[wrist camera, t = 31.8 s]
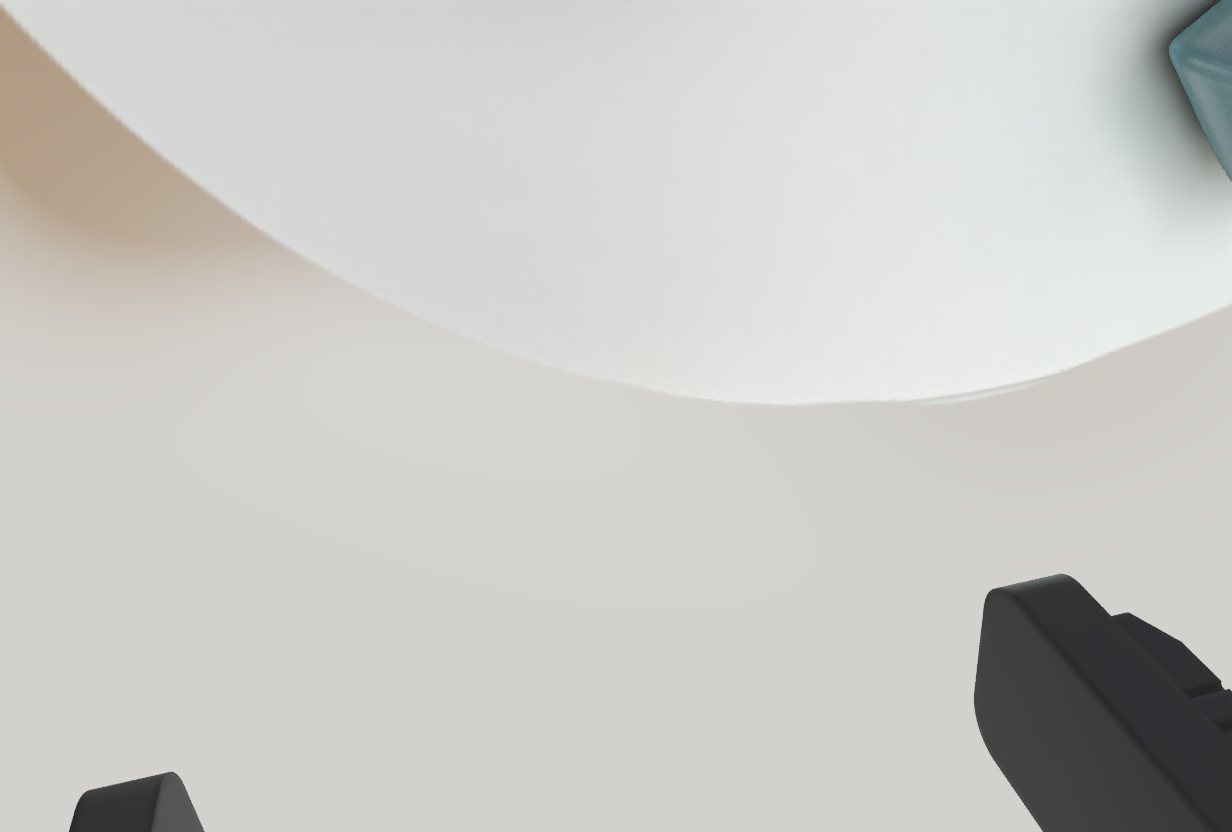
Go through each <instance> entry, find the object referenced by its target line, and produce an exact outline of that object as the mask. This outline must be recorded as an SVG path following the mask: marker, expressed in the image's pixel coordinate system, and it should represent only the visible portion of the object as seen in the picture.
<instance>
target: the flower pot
mask: <svg viewBox="0 0 1232 832" xmlns="http://www.w3.org/2000/svg"><path fill="white" fill-rule="evenodd" d="M1169 56H1170V59H1171V61H1172V63H1173V65H1174V68H1175V70H1176V72H1177V74H1178V76H1179V79H1180V81H1181V83H1182V85H1183V87H1184V89H1185V91H1186V93H1187V96H1188V98H1189V100H1190V102H1191V105H1192V107H1193V109H1194V111H1195V114H1196V116H1197V118H1198V120H1199V123H1200V125H1201V127H1202V129H1203V132H1204V134H1205V136H1206V137H1207V139H1208V141H1209V143H1210V145H1211V148H1212V150H1213V152H1214V154H1215V155H1216V157H1217V159H1218V161H1219V163H1220V165H1221V166H1222V168H1223V169H1224V171H1225V172H1226V174H1227V175H1228V177H1229V178H1230V180H1231V181H1232V0H1220V1H1219V2H1218V3H1217V4H1215V5H1214V6H1213V7H1212V8H1211V9H1209V10H1208V11H1207V12H1206V13H1204V14H1203V15H1202V16H1201V17H1200V18H1198V19H1197V20H1196V21H1195V22H1193V23H1192V24H1191V25H1190V26H1188V27H1187V28H1186V29H1185V30H1184V31H1182V32H1181V33H1180V34H1179V35H1178V36H1176V37H1175V39H1174V40H1173V41H1172V42H1171V44H1170V46H1169Z"/></svg>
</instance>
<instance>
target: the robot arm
mask: <svg viewBox="0 0 1232 832" xmlns="http://www.w3.org/2000/svg"><path fill="white" fill-rule="evenodd" d="M974 707H975V713H976V718H977V722H978V726H979V729H980V732H981V735H982V738H983V740H984V742H985V745H986V747H987V749H988V751H989V753H990V755H991V756H992V758H993V759H994V761H995V762H996V764H997V765H998V767H999V768H1000V770H1001V771H1002V772H1003V774H1004V775H1005V777H1006V778H1007V780H1008V781H1009V783H1010V784H1011V786H1012V787H1013V789H1014V790H1015V791H1016V793H1017V794H1018V796H1019V797H1020V799H1021V800H1022V802H1023V803H1024V805H1025V806H1026V807H1027V809H1028V810H1029V812H1030V813H1031V815H1032V816H1033V818H1034V819H1035V821H1036V822H1037V823H1038V825H1039V826H1040V828H1041V829H1042V831H1043V832H1232V691H1231V690H1230V689H1228V690H1224V688H1223V687H1222V685H1221V680H1219V678H1218V677H1217V676H1216V675H1214V674H1213V673H1212V672H1211V671H1210V670H1209V669H1208V668H1207V667H1206V666H1205V665H1204V664H1203V663H1202V662H1201V661H1200V660H1199V659H1198V658H1197V657H1196V656H1195V655H1194V654H1193V653H1192V652H1191V651H1190V650H1189V649H1188V648H1187V647H1186V646H1185V645H1184V644H1183V643H1182V642H1181V641H1179V640H1177V639H1175V638H1173V637H1171V636H1170V635H1168V634H1166V633H1165V632H1163V631H1161V630H1159V629H1157V628H1156V627H1154V626H1152V625H1150V624H1148V623H1147V622H1145V621H1143V620H1141V619H1139V618H1138V617H1136V616H1134V615H1132V614H1131V613H1123V614H1119V615H1114V616H1110V615H1109V614H1108V613H1107V612H1106V610H1105V609H1104V608H1103V607H1102V606H1101V605H1100V604H1099V603H1098V602H1097V601H1096V600H1095V599H1094V598H1093V597H1092V596H1091V595H1090V594H1089V593H1088V592H1087V591H1086V590H1085V589H1084V587H1083V586H1081V584H1080V583H1078V582H1077V581H1076V580H1075V579H1074V578H1072V577H1070V576H1068V575H1065V574H1057V575H1053V576H1048V577H1044V578H1040V579H1035V580H1031V581H1026V582H1022V583H1018V584H1013V585H1009V586H1004V587H1000V588H996V589H992V590H991V591H990V592H989V593H988V595H987V596H986V599H985V604H984V610H983V619H982V628H981V637H980V646H979V656H978V664H977V673H976V683H975V691H974ZM69 832H204V830H203V827H202V825H201V823H200V821H199V819H198V816H197V814H196V811H195V809H194V807H193V805H192V803H191V800H190V798H189V796H188V793H187V791H186V789H185V786H184V784H183V782H182V780H181V779H180V778H179V776H178V775H177V774H176V773H174V772H168V773H164V774H159V775H155V776H150V777H146V778H142V779H137V780H132V781H128V782H124V783H120V784H115V785H111V786H106V787H102V788H97V789H93V790H89V791H86V792H85V793H84V794H83V795H82V796H81V798H80V799H79V801H78V804H77V806H76V809H75V812H74V816H73V819H72V823H71V826H70V830H69Z"/></svg>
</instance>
